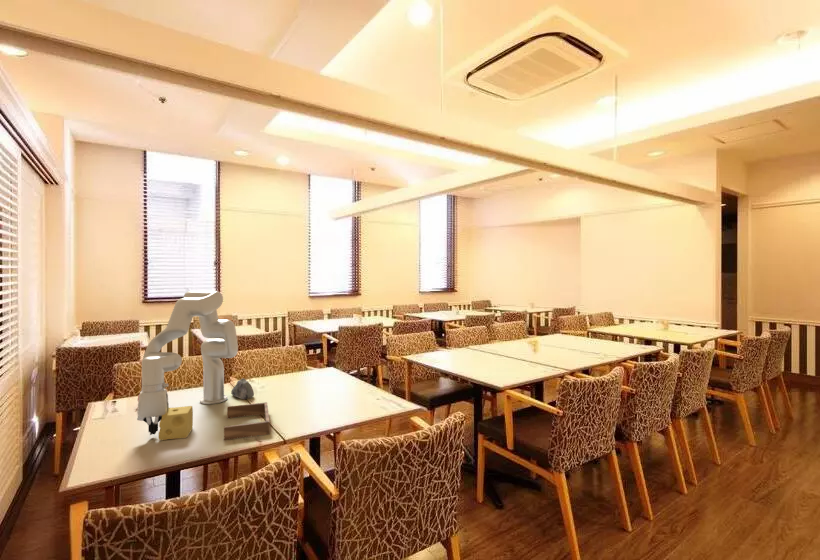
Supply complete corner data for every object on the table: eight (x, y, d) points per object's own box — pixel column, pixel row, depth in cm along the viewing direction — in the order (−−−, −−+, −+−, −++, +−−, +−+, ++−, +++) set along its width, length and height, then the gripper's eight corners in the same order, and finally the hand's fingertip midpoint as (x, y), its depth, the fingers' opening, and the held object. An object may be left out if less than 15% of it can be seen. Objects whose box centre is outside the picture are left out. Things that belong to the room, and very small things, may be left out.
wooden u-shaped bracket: (227, 417, 184) (227, 406, 183) (267, 412, 190) (267, 402, 190) (224, 440, 159) (223, 427, 159) (269, 434, 165) (269, 421, 165)
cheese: (158, 441, 158) (158, 415, 158) (166, 430, 168) (166, 406, 168) (188, 438, 161) (187, 413, 161) (194, 428, 171) (194, 404, 171)
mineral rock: (230, 394, 218) (230, 376, 218) (252, 392, 223) (252, 373, 222) (232, 401, 206) (231, 382, 206) (254, 398, 211) (254, 379, 211)
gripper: (176, 383, 167) (176, 427, 168) (133, 387, 162) (133, 432, 162) (172, 388, 160) (172, 434, 161) (128, 392, 155) (128, 439, 155)
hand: (153, 433), depth 161 cm, fingers closed
